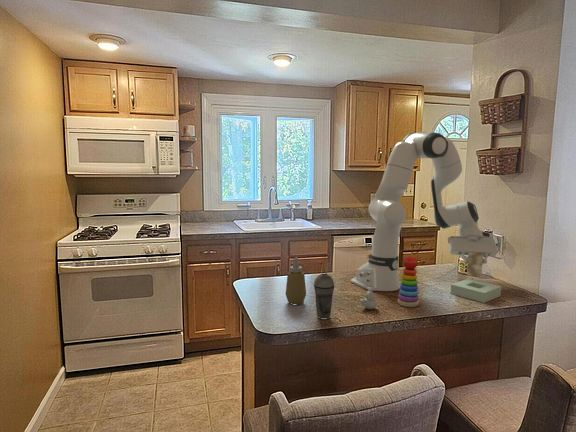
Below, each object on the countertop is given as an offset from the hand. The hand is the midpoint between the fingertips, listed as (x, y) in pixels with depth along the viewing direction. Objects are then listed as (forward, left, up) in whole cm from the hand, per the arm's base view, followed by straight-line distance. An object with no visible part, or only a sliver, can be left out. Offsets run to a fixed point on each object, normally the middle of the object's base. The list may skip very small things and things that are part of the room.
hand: (475, 262), depth 175 cm
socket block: (+7, -12, -10) cm, 17 cm away
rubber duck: (-9, -60, -11) cm, 62 cm away
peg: (-1, 0, -6) cm, 6 cm away
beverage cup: (-13, -79, -11) cm, 81 cm away
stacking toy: (-3, -44, -11) cm, 45 cm away
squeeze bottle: (-30, -78, -11) cm, 84 cm away
